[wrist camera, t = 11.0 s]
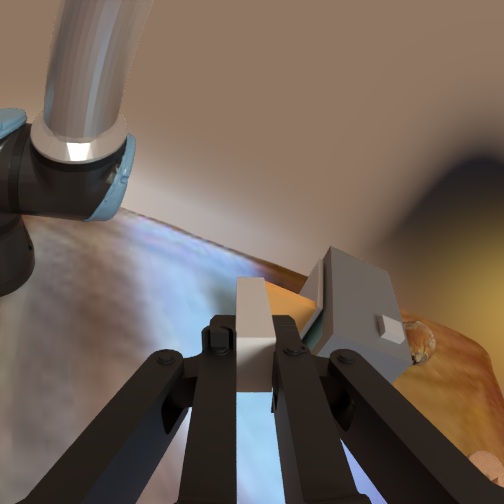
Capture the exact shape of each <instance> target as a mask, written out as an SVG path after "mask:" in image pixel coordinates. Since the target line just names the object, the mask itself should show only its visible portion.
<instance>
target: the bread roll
mask: <svg viewBox="0 0 504 504" xmlns="http://www.w3.org/2000/svg"><path fill="white" fill-rule="evenodd" d="M403 325H404V329H405V333H406V337H407V341H408V345H409V349H410V353H411V357H412V362H413V363H412V365H421V364H423V363H426V362H427V361H428V360H429V359H430V358H431V356H432V355H433V353H434V350H435V338H434V336H433V334H432V332H431V330H430V329H429V328H428V327H427V326H426V325H424V324H423V323H421V322H419V321H408V322H404V323H403Z"/></svg>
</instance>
